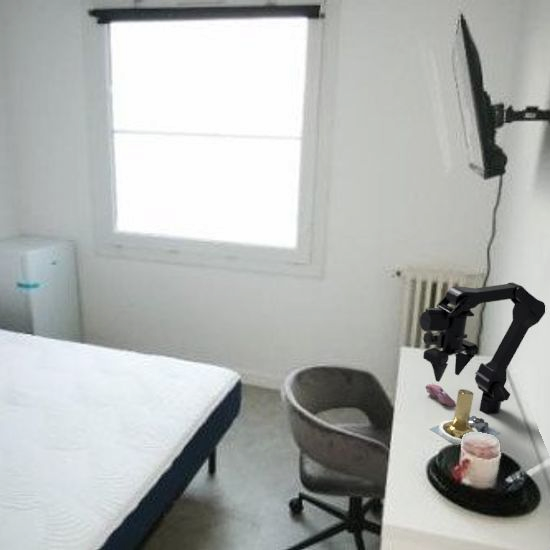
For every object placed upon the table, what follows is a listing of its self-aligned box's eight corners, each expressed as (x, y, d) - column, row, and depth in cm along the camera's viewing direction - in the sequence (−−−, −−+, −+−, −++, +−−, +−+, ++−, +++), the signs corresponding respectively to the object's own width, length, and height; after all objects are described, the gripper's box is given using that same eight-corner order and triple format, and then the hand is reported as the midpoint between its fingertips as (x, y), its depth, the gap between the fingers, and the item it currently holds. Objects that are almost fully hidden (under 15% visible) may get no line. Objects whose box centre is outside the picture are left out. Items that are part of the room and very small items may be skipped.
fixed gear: (472, 418, 155) (473, 411, 154) (492, 428, 150) (493, 421, 149) (458, 424, 151) (459, 416, 151) (478, 435, 146) (479, 427, 145)
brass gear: (447, 424, 151) (454, 384, 147) (473, 431, 148) (480, 391, 144) (443, 435, 144) (450, 394, 141) (470, 443, 141) (478, 401, 138)
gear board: (464, 417, 157) (465, 410, 157) (499, 436, 148) (501, 429, 147) (428, 432, 148) (429, 425, 147) (463, 453, 138) (465, 446, 138)
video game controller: (426, 399, 171) (421, 383, 168) (437, 392, 172) (432, 376, 169) (446, 414, 162) (441, 397, 159) (457, 406, 163) (452, 389, 160)
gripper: (451, 316, 162) (445, 362, 165) (412, 325, 151) (406, 373, 155) (482, 327, 153) (474, 375, 157) (443, 338, 142) (435, 389, 146)
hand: (447, 377), depth 154 cm, fingers open, 9 cm apart
